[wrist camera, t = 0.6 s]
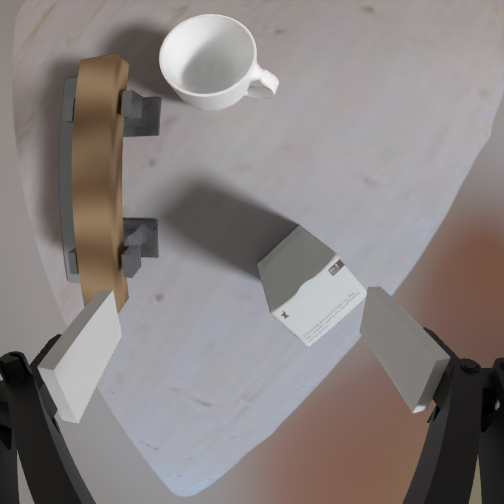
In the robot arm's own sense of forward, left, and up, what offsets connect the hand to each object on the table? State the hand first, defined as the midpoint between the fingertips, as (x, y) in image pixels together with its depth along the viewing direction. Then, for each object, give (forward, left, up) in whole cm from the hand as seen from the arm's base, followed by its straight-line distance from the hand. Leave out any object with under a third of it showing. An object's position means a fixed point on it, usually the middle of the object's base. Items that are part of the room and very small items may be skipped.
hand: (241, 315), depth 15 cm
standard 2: (+3, -14, -25) cm, 29 cm away
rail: (-5, -14, -17) cm, 23 cm away
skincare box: (+5, +8, -26) cm, 27 cm away
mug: (-17, -2, -26) cm, 31 cm away
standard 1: (-13, -14, -25) cm, 32 cm away
